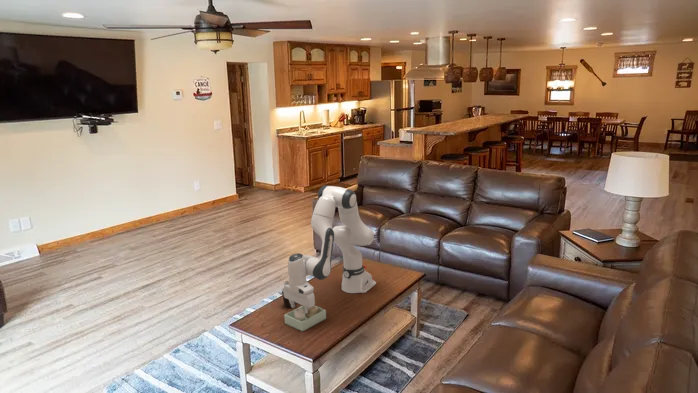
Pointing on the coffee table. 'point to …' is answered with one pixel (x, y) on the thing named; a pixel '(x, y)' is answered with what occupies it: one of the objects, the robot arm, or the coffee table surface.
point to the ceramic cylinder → (299, 314)
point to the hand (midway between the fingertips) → (299, 309)
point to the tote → (307, 322)
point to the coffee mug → (286, 301)
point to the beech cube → (311, 312)
